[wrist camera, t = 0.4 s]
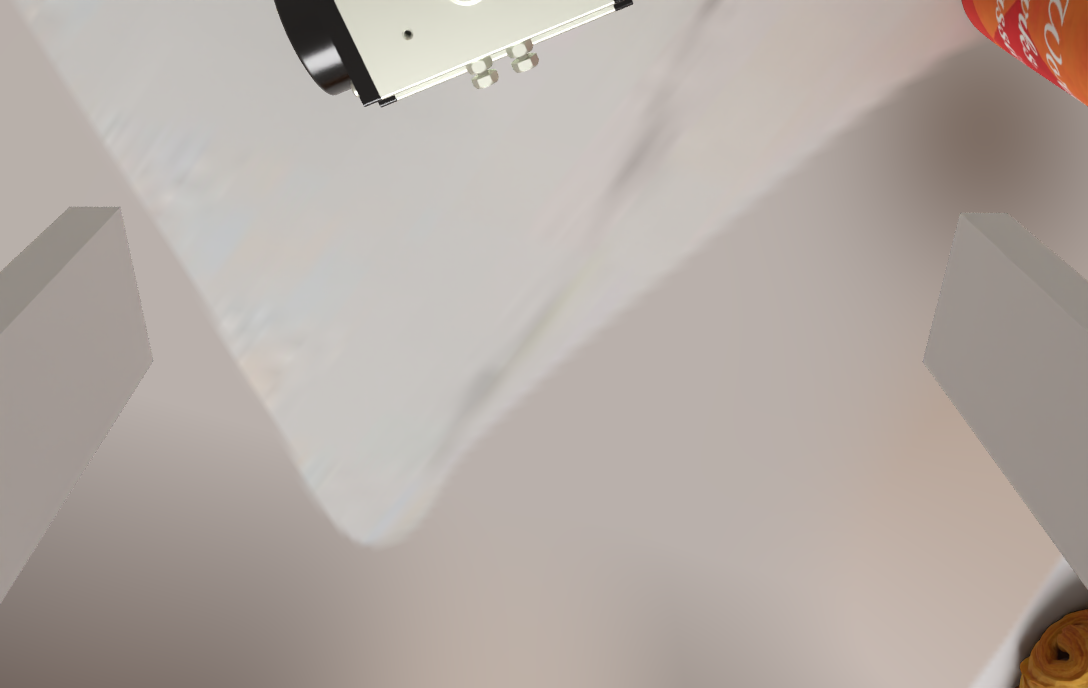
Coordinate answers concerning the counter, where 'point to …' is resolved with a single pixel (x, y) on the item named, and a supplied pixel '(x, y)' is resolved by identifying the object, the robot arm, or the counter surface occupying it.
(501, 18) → the pneumatic valve
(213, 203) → the counter surface
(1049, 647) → the croissant
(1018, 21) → the paper cup
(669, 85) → the counter surface
